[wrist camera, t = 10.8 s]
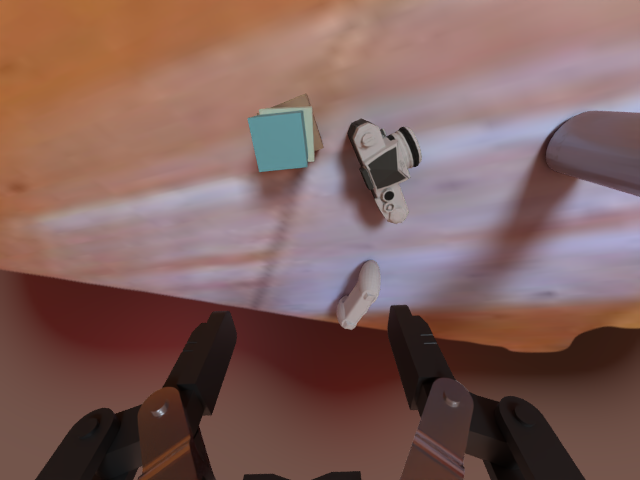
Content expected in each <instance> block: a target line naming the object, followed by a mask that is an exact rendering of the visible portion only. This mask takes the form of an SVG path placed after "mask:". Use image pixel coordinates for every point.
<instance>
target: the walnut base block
mask: <svg viewBox="0 0 640 480" xmlns="http://www.w3.org/2000/svg"><path fill="white" fill-rule="evenodd" d="M306 106H310V103H309V100H308V96H307V94H303V95H301V96H299V97H296V98H294V99H291V100H289V101H286V102H284V103H282V104H279V105H277V106H274V107H272V108H282V107H306ZM312 114H313V112H312ZM257 115H260V113H257ZM313 135H314V151H316V150H319V149H322V148H323V143H322V140H321V137H320V134H319V130H318V127H317V124H316V121H315V118H314V115H313Z"/></svg>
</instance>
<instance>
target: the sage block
mask: <svg viewBox="0 0 640 480" xmlns="http://www.w3.org/2000/svg"><path fill="white" fill-rule="evenodd" d="M299 110H303V112H304V121H305V130H306V138H307V147H308V162H314V135H313V114H312V106H306V107H282V108H265V109H260V110H259V113H260V115H262V114H271V113H281V112H290V111H299Z"/></svg>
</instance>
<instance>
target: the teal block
mask: <svg viewBox="0 0 640 480" xmlns="http://www.w3.org/2000/svg"><path fill="white" fill-rule="evenodd" d="M248 123H249V127H250V132H251V136H252V141H253V146H254V150H255V155H256V159H257V164H258V169H259V172H264V171H274V170H284V169H293V168H303V167H307V164H308V147H307V138H306V130H305V121H304V112H303V110H299V111H290V112H281V113H271V114H262V115H257V116H254V117H250V118H248Z"/></svg>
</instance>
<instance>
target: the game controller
mask: <svg viewBox="0 0 640 480" xmlns="http://www.w3.org/2000/svg"><path fill="white" fill-rule="evenodd" d="M379 291H380V269H379V266H378V264H377V263H376V262H375V261H373V260H369V261H367V262H366V263H365V264H364V265H363V267H362V268H361V270H360V274H359V279H358V282H357V284H356V285H355V287H354V288H353V290H352V291H351V293H350V294H349V296H346V295H345V296H343V297H342V298H341V300H340V301H339V303H338V306H337V318H338V321H339V323H340V325H341V326H342V327H343V328H345V329H351V330H352V329H353V328H355V326H356V325H357V322H358V321H359V320H360V319H361V317H362V316H363V315H364V314H366V312H367V309H368V308H369V307H370V305H371V304H372V303H373V302H375V301H376V299H377V297H378V295H379Z"/></svg>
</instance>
